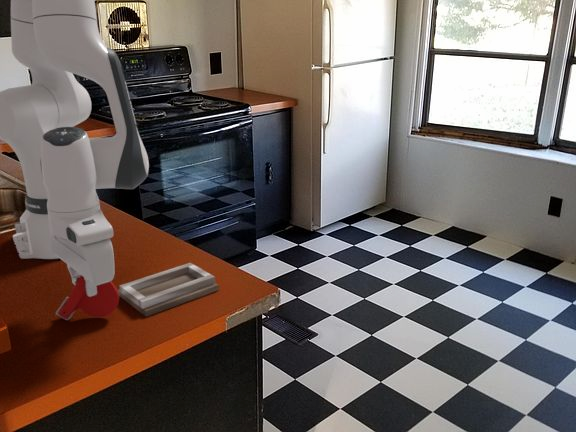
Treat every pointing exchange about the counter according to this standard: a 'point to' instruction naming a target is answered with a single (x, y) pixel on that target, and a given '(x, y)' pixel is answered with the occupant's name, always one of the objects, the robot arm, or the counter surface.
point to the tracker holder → (90, 300)
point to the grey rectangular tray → (168, 289)
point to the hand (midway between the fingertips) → (84, 289)
